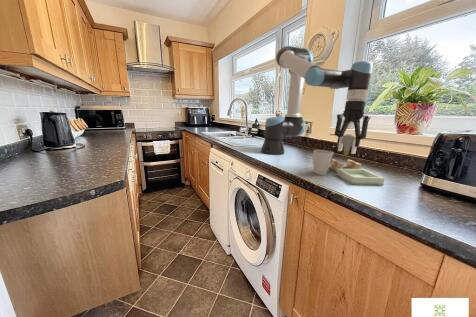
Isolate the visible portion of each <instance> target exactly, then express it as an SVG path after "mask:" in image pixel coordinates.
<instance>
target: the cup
mask: <svg viewBox="0 0 476 317" xmlns="http://www.w3.org/2000/svg"><path fill="white" fill-rule="evenodd" d="M312 153H313V156H312V157H313V158H312V162H313V163H312V165H313V172H314V174H315V175H320V176H326V175H327V174H328V172H329V171H330V169H331V168H330V166H331V163H332V159H333V158H334V153H335V152H333V151H331V150H325V149H314V150H313V152H312Z"/></svg>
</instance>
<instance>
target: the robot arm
mask: <svg viewBox="0 0 476 317" xmlns="http://www.w3.org/2000/svg"><path fill="white" fill-rule="evenodd" d="M275 61H276V64H277V65H278V66H279V67H280V68H282V69H284V70H285V69H287V70H288V73H289V76H290V78H289V79H290V80H289V88H288V89H289V91H288V99H287V111H286V114H285V115H284V116H274V117H273V116H272V117H268V118H267V119H265V124H264V126H265V130H264V141H263V144H262V146H261V149H260V151H261V153H263V154H265V155H276V156H278V155H284V154H285V148H284V142H283V138H287V137H289V138H290V137H292V138H295V137H300V136H301V135H303V134H304V132H305V130H306V126H307V124H306V121H305V120H304V119H303V118H304V117H303V115H302V114H301V113H302V104H303V96H304V95H303V94H304V86H305V84H306V85H307V86H312V87H321V88H330V89H331V90H333V89H334V90H338V89H346V88H347V94H346V100H347V101H345V104H344V111H343V113H340V114H339V113H338V114H336V126H335V129H334V136H336V137H337V142H336V143H337V145H338V147H337V151H338V152H342V151H343V149H344V146H343V143H342V138H343V136H344V135H345V133H346V131H347V128H348V127H349V124H350V123H353V128H354V134H355V135H354V137H355V139H354V140H353V145H352V146H351V152H350V154H351V155H354V154H355V155H356V151H357V148H359V147H360V144H361V140H364V139H366V138H367V133H368V125H369V121H370V120H371V115H367V114H365V112H364V111H365V108H366V100H367V97H368V90H369V86H370V85H369V84H370V80H371V76H372V71H373V62H371V61H369V60H368V61H367V60H366V61H365V60H361V61H360V60H359V61H356V62H354V63H353V64H352V65H351V69H345V70H335V69H329V68H323V67H321V66H319V65H317V64H315V63H314V54H313V52H312V51H311V50H310V49H307V48H303V47H302V48H301V47H298V46H297V47H296V46H290V45H287V46H283V47H281V48H280V49H279V50H278V51H277V53H276V56H275ZM343 118H344V121H343ZM361 119H362V120H363V121H362V126H361Z"/></svg>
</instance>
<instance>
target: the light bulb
mask: <svg viewBox="0 0 476 317" xmlns="http://www.w3.org/2000/svg"><path fill="white" fill-rule="evenodd" d="M354 139H356V136H355V135H353V134H351V133H346V134H344V135H343V138H342V143H343V155H344V156H348V155H349V152H350V149H351V148H352V146H353V140H354Z"/></svg>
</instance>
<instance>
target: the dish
mask: <svg viewBox="0 0 476 317" xmlns="http://www.w3.org/2000/svg"><path fill="white" fill-rule="evenodd" d="M336 176H338V177H340V178H341V179H343V180H344V181H346V182H348V183H349V184H351V185H357V186H358V185H360V186H361V185H365V186H384V183H385V179H386V178H385V177H382V176H381V175H378V174H375V173H373V172H372V171H369V170H367V169H364V168H361V169H337V172H336Z"/></svg>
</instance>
